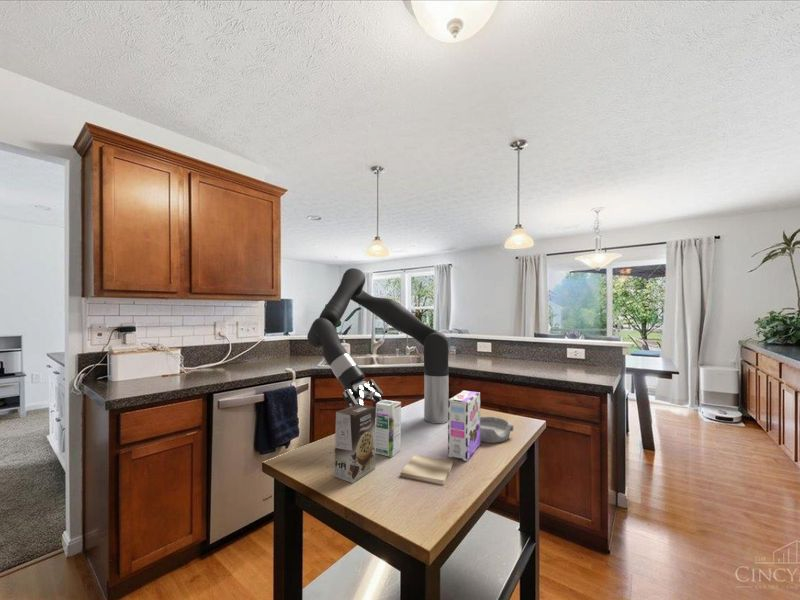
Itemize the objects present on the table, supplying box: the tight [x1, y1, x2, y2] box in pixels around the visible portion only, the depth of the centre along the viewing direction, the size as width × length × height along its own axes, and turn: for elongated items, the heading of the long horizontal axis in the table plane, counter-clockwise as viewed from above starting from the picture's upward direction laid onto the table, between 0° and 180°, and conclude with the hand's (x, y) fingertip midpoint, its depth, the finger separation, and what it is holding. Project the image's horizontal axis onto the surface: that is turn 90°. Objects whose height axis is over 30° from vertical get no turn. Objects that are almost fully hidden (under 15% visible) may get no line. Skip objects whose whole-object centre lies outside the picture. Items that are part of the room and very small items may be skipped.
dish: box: [480, 416, 514, 444], centre depth 111 cm, size 14×14×5 cm
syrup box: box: [375, 399, 402, 458], centre depth 98 cm, size 6×6×14 cm
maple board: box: [400, 454, 454, 486], centre depth 86 cm, size 11×11×1 cm
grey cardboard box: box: [333, 404, 376, 484], centre depth 85 cm, size 9×6×16 cm
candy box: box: [447, 390, 481, 462], centre depth 99 cm, size 14×6×16 cm, turn 151°
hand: (376, 413), depth 101 cm, fingers open, 8 cm apart
